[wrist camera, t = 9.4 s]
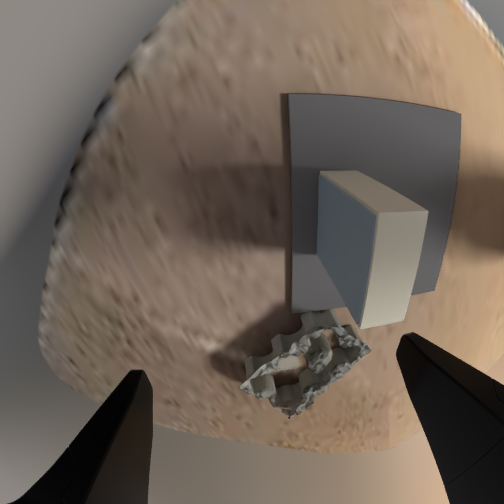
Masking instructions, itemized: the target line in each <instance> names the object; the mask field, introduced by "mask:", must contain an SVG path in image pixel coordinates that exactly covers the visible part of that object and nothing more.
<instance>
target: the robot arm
mask: <svg viewBox="0 0 504 504" xmlns="http://www.w3.org/2000/svg"><path fill="white" fill-rule="evenodd" d="M396 357H397V361H398V364H399V367H400V370H401V373H402V376H403V379H404V382H405V385H406V388H407V391H408V394H409V396H410V399H411V401H412V404H413V406H414V408H415V411H416V413H417V415H418V418H419V420H420V422H421V425H422V427H423V430H424V432H425V435H426V437H427V440H428V442H429V445H430V447H431V450H432V453H433V455H434V458H435V461H436V464H437V466H438V469H439V472H440V475H441V478H442V481H443V484H444V486H445V490H446V493H447V496H448V499H449V503H450V504H504V385H503V384H501V383H499V382H498V381H496V380H494V379H492V378H491V377H489V376H487V375H486V374H484V373H482V372H481V371H479V370H477V369H476V368H474V367H472V366H471V365H469V364H467V363H466V362H464V361H462V360H461V359H459V358H457V357H455V356H454V355H452V354H450V353H449V352H447V351H445V350H444V349H442V348H440V347H438V346H437V345H435V344H433V343H432V342H430V341H428V340H426V339H425V338H423V337H421V336H420V335H418V334H416V333H414V332H411V333H407V334H404V335H403V336H402V337H401V340H400V343H399V345H398V348H397V351H396ZM152 438H153V390H152V386H151V383H150V381H149V379H148V377H147V375H146V373H145V371H144V370H131V371H129V372H128V374H127V375H126V376H125V377H124V378H123V380H122V381H121V382H120V383H119V385H118V386H117V387H116V388H115V389H114V391H113V392H112V393H111V394H110V395H109V397H108V398H107V399H106V400H105V402H104V403H103V404H102V405H101V406H100V408H99V409H98V410H97V411H96V413H95V414H94V415H93V416H92V418H91V419H90V420H89V421H88V423H87V424H86V425H85V426H84V428H83V429H82V430H81V431H80V432H79V434H78V435H77V436H76V438H75V439H74V440H73V441H72V442H71V444H70V445H69V447H68V448H67V449H66V450H65V451H64V453H63V454H62V455H61V456H60V457H59V458H58V460H57V461H56V462H55V463H54V464H53V466H52V467H51V468H50V469H49V470H48V471H47V472H46V473H45V474H44V475H43V476H42V477H41V478H40V479H39V480H38V481H37V482H36V483H35V484H34V485H33V486H32V487H31V488H30V489H29V490H28V491H27V492H26V493H25V494H24V495H23V496H21V497H20V498H19V499H17V500H16V501H14V502H11V503H8V504H148V485H149V471H150V458H151V448H152Z"/></svg>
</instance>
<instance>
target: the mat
mask: <svg viewBox="0 0 504 504" xmlns="http://www.w3.org/2000/svg"><path fill="white" fill-rule="evenodd" d="M287 96H288V116H289V140H290V172H291V313H292V314H297V313H305V312H312V311H320V310H327V309H334V308H341V307H347V306H346V304H345V302H344V301H343V299H342V297H341V295H340V294H339V292H338V290H337V288H336V287H335V285H334V283H333V281H332V280H331V278H330V276H329V274H328V273H327V271H326V269H325V268H324V266H323V264H322V263H321V261H320V259H319V257H318V256H317V254H316V253H317V229H318V190H319V175H320V171H344V170H357V171H359V172H361V173H363V174H365V175H367V176H369V177H370V178H372V179H374V180H376V181H378V182H380V183H382V184H383V185H385V186H387V187H389V188H391V189H392V190H394V191H396V192H398V193H399V194H401V195H403V196H405V197H406V198H408V199H410V200H411V201H413V202H415V203H416V204H418V205H420V206H421V207H423V208H425V209H426V210H428V217H427V224H426V229H425V235H424V240H423V245H422V250H421V255H420V260H419V264H418V269H417V273H416V277H415V281H414V285H413V289H412V293H411V295H415V294H420V293H425V292H430V291H434V290H435V287H436V283H437V280H438V276H439V272H440V268H441V265H442V261H443V256H444V252H445V248H446V243H447V239H448V234H449V229H450V224H451V218H452V213H453V206H454V200H455V193H456V186H457V177H458V168H459V156H460V141H461V114H459V113H455V112H451V111H447V110H442V109H437V108H432V107H427V106H422V105H416V104H410V103H404V102H397V101H390V100H382V99H374V98H364V97H353V96H338V95H318V94H287Z"/></svg>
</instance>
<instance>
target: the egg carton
mask: <svg viewBox="0 0 504 504" xmlns="http://www.w3.org/2000/svg"><path fill="white" fill-rule="evenodd" d="M300 317H301V320H302V323H303V326H302V328H301V329H300V330H299V331H298V332H296V333H294V334H292V335H282V334H278V335H276V336H275V337H274V338H273V339H272V340H271V343H272V347H273V351H272V352H271V353H270V354H269V355H266V356H263V357H255V356H250V357H248V358H247V359H246V360H245V367H246V378H247V381H245V382H244V383H243V384H242V385H241V386H240V387H239V388H241V389H242V390H244V391H245V392H246V393H247V394H249V393H252V394H254V395H255V396H256V397H257V398H258V399H262V396H263V397H266V398H268V399H269V401H270V403H271V404H272V406H273V407H274V408H275V409H277V410H278V411H281V412H283V413H284V414H286V415H288V416H289V417H288V418H289V419H290V418H293V417H294V415H296V414H297V415H299V414H300V413H302V411H303V410H306V409H308V407H309V406H311V404H313V403H314V398H315V397H316V396H317V395H319V394H321V393H323V392H325V391H327V389H328V387H329V386H330V385H331V384H333V383H334V382H335V381H336V380H337V379H339V378H341V377H343V376H344V375H345V374H346V373H347V372H348V371H349V370H350V369H351V368H352V367H353V365H354V364H355V363H356V362H357V361H358V360H359V359H360V358H362V357H363V356H365V355H367V354H368V353H369V352H370V351H371V350H370V349H369V348H368V346H367V345H366V344H365V343H363V342H362V341H361V339H360V337H359V335H358V333H357V331H356V328H355V327H353V326H352V325H348V326H346V327H344V328H343V327H342V328H341V324H340V322H339V320H338V318H337V315H336V313H335V311H334V310H332V309H327V310H320V311H312V312H305V313H303V314H302V315H301V316H300ZM326 328H332V329H333V331H334V333H335V335H336V337H337V339H338V341H339V344H340V346H342V347H343V348H342V347H337V348H333V349H331V347H330V345H329V343H328V340H327V337H326V336H325V334H323V333H321V332H322V331H323V330H324V329H326ZM347 345H348V346H347ZM300 352H302V353H304V355H305V358H306V361H307V365H308V367H309V368H307V369H304V370H303V371H302V372H300V374H299V376H298V378H299V382H297V383H296V384H294V385H283V386H280V387H275V384H274V378H273V376H271V375H269V373H271V372H272V371H273V370H277V371H278V369H279V370H281V371H284V370H285V371H287V370H291V369H293V368H295V367H296V366H297V365H298V363H299V359H298V357H297V356H298V355H299V354H300ZM281 354H283V356H282V357H281Z"/></svg>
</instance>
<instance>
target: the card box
mask: <svg viewBox="0 0 504 504" xmlns="http://www.w3.org/2000/svg"><path fill="white" fill-rule="evenodd" d="M427 217H428V210H426V209H425V208H423V207H421V206H420V205H418V204H416V203H415V202H413V201H411V200H410V199H408V198H406V197H405V196H403V195H401V194H399V193H398V192H396V191H394V190H392V189H391V188H389V187H387V186H385V185H383V184H382V183H380V182H378V181H376V180H374V179H372V178H370V177H369V176H367V175H365V174H363V173H361V172H359V171H357V170H344V171H320V175H319V190H318V229H317V253H316V254H317V256H318V257H319V259H320V261H321V263H322V264H323V266H324V268H325V269H326V271H327V273H328V274H329V276H330V278H331V280H332V281H333V283H334V285H335V287H336V288H337V290H338V292H339V294H340V295H341V297H342V299H343V301H344V302H345V304H346V306H347V308H348V310H349V311H350V313H351V315H352V317H353V319H354V320H355V322H356V324H357V325H358V326H359V328H360V329H365V328H370V327H375V326H380V325H385V324H390V323H395V322H399V321H404V317H405V314H406V311H407V307H408V304H409V300H410V296H411V293H412V289H413V285H414V281H415V277H416V273H417V269H418V264H419V260H420V255H421V250H422V245H423V240H424V235H425V229H426V224H427Z"/></svg>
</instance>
